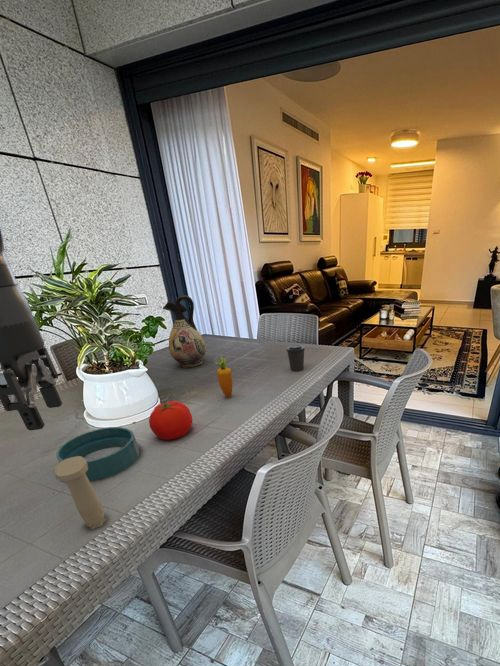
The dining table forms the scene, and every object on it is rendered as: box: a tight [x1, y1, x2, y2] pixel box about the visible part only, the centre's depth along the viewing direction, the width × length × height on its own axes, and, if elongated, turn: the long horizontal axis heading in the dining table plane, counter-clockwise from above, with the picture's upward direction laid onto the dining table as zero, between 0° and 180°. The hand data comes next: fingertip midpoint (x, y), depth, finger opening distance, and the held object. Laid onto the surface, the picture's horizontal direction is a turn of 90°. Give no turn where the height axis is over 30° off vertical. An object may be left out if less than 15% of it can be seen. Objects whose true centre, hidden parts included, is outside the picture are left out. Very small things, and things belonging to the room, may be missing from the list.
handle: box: [54, 456, 107, 530], centre depth 68 cm, size 5×6×15 cm
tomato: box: [148, 399, 193, 441], centre depth 101 cm, size 12×12×10 cm
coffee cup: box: [285, 344, 306, 372], centre depth 147 cm, size 8×8×10 cm
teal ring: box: [56, 426, 141, 482], centre depth 91 cm, size 17×17×6 cm
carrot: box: [214, 356, 233, 399], centre depth 122 cm, size 5×5×15 cm
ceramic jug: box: [162, 294, 207, 368], centre depth 153 cm, size 17×15×30 cm
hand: (46, 417), depth 60 cm, fingers open, 8 cm apart
